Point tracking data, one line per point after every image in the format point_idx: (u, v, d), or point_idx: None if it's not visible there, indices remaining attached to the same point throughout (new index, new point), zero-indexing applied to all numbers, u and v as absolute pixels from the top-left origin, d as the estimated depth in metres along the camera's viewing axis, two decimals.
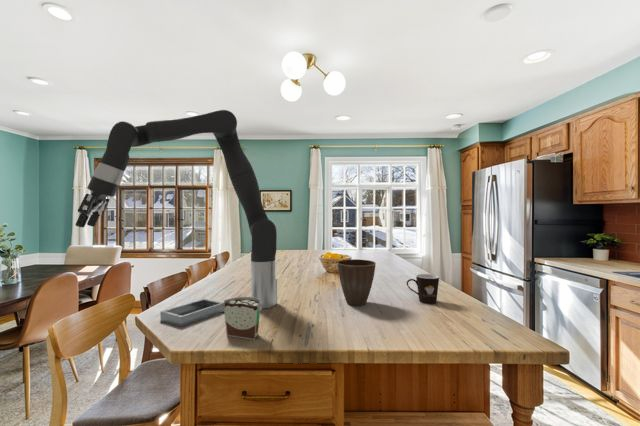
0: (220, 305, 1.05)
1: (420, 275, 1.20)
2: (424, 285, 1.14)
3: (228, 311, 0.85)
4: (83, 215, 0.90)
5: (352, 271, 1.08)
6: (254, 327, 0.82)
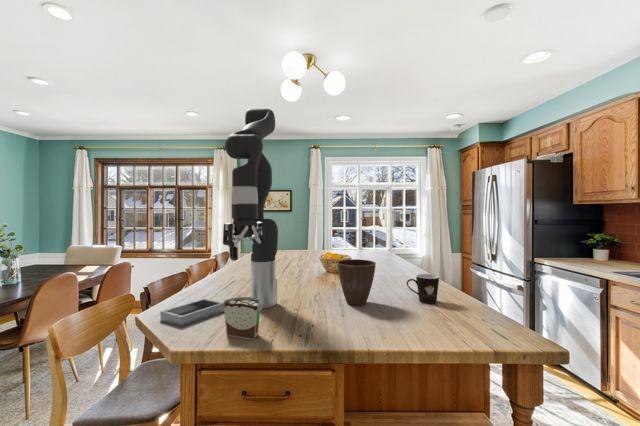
0: (220, 305, 1.05)
1: (420, 275, 1.20)
2: (424, 285, 1.14)
3: (228, 311, 0.85)
4: None
5: (352, 271, 1.08)
6: (254, 327, 0.82)
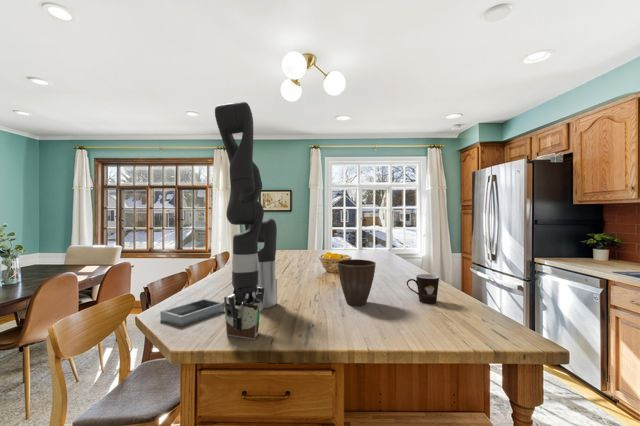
0: (220, 305, 1.05)
1: (420, 275, 1.20)
2: (424, 285, 1.14)
3: None
4: None
5: (352, 271, 1.08)
6: (254, 327, 0.82)
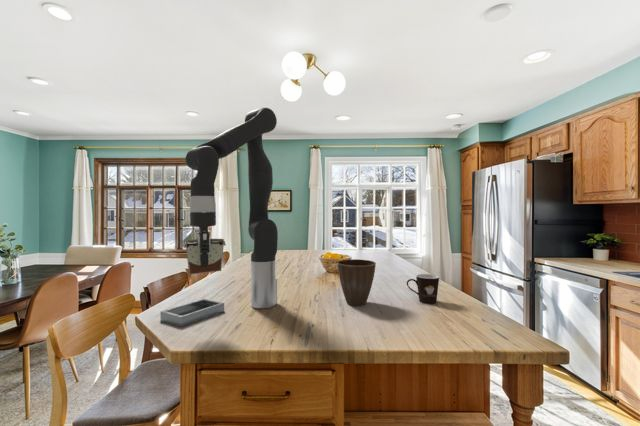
0: (220, 305, 1.05)
1: (420, 275, 1.20)
2: (424, 285, 1.14)
3: (191, 251, 0.88)
4: None
5: (352, 271, 1.08)
6: (220, 260, 0.93)
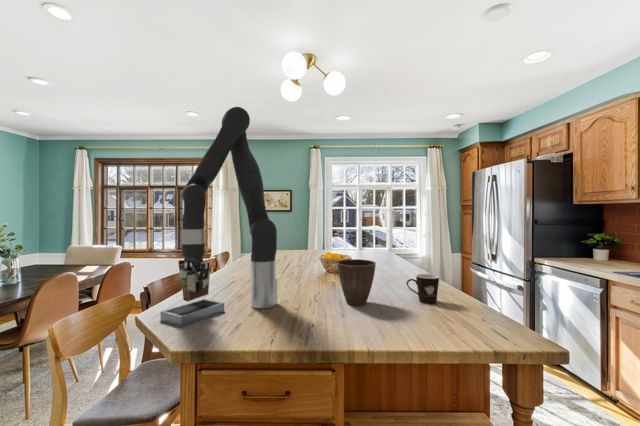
0: (220, 305, 1.05)
1: (420, 275, 1.20)
2: (424, 285, 1.14)
3: (189, 279, 0.97)
4: None
5: (352, 271, 1.08)
6: (207, 284, 1.06)
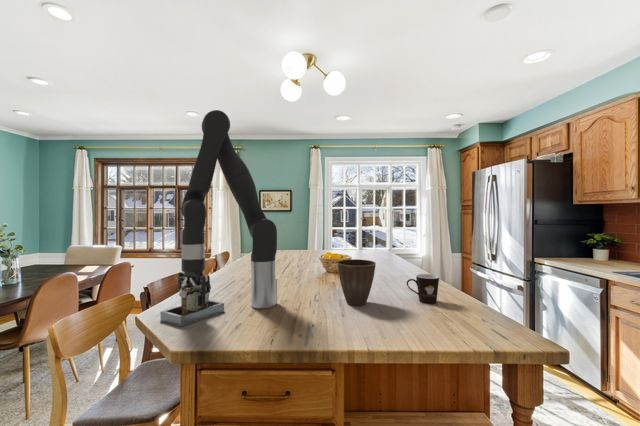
0: (220, 305, 1.05)
1: (420, 275, 1.20)
2: (424, 285, 1.14)
3: (189, 299, 0.98)
4: None
5: (352, 271, 1.08)
6: (207, 302, 1.06)
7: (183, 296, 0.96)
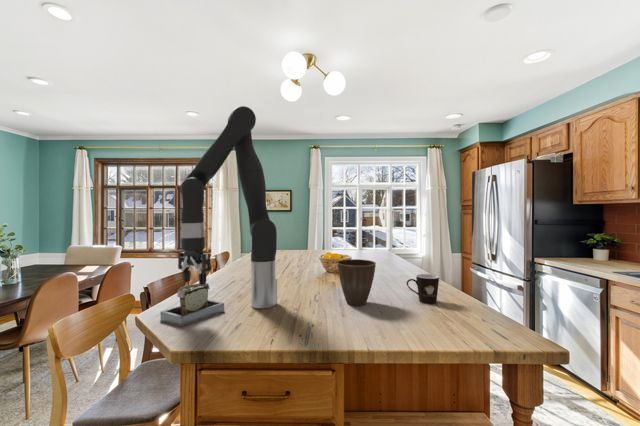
0: (220, 305, 1.05)
1: (420, 275, 1.20)
2: (424, 285, 1.14)
3: (187, 299, 0.98)
4: None
5: (352, 271, 1.08)
6: (206, 302, 1.06)
7: (181, 296, 0.96)
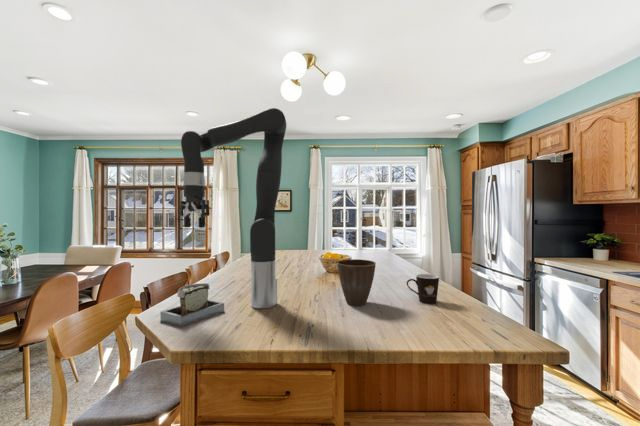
0: (220, 305, 1.05)
1: (420, 275, 1.20)
2: (424, 285, 1.14)
3: (187, 299, 0.98)
4: None
5: (352, 271, 1.08)
6: (206, 302, 1.06)
7: (181, 296, 0.96)
